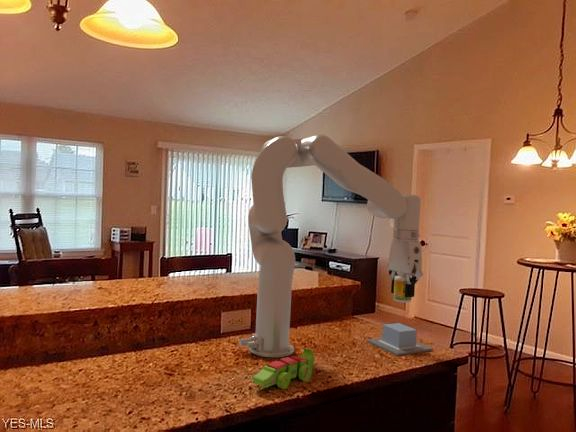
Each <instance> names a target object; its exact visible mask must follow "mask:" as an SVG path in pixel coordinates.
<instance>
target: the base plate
mask: <svg viewBox="0 0 576 432" xmlns="http://www.w3.org/2000/svg"><path fill="white" fill-rule="evenodd" d="M366 343H369V344H371V345H373V346H375V347H378V348H379V349H382V350H384V351H386V352H388V353H390V352H391V353H390V354H392V353H393V354H392V355H394V354H395V356H397V357H398V356H403V355H410V354H411V355H412V354H417V353H424V352H430V351H433V350H434V348H433V347H430V346H428V345H426V344H423V343H420V342H418V341H416V347H407V348H396V347H394V346H392V345H390V344H388V343H386V342H384V341H382V337H378V338H368V339H366Z"/></svg>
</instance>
